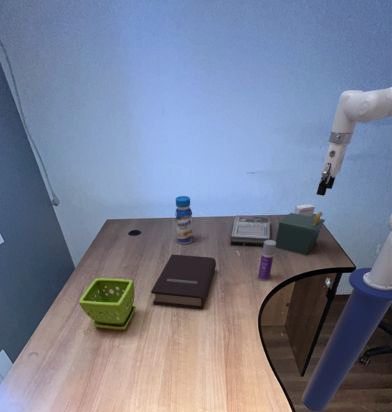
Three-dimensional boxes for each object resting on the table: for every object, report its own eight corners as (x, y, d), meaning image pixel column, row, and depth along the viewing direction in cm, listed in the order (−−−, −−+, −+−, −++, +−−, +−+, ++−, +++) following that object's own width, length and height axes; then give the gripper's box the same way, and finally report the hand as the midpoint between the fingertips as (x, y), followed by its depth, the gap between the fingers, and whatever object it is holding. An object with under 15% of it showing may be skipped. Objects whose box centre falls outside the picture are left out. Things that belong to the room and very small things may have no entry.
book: (204, 310, 97) (204, 296, 92) (153, 304, 100) (151, 291, 95) (215, 270, 115) (216, 257, 111) (172, 266, 118) (171, 254, 114)
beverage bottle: (194, 237, 139) (193, 195, 124) (192, 244, 133) (190, 201, 119) (178, 236, 140) (175, 194, 125) (175, 244, 134) (171, 201, 120)
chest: (315, 243, 130) (322, 221, 122) (306, 255, 123) (312, 231, 115) (285, 236, 137) (290, 214, 129) (274, 246, 129) (279, 224, 121)
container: (258, 280, 109) (264, 244, 98) (258, 274, 112) (263, 239, 102) (269, 280, 109) (276, 245, 98) (269, 274, 112) (276, 239, 101)
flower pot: (105, 306, 99) (95, 276, 90) (141, 309, 98) (134, 279, 88) (89, 331, 90) (76, 301, 81) (128, 335, 88) (119, 304, 79)
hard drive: (230, 245, 132) (231, 236, 129) (235, 223, 150) (235, 215, 147) (268, 247, 129) (269, 238, 126) (268, 225, 147) (269, 216, 144)
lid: (324, 221, 122) (328, 209, 118) (314, 231, 115) (318, 219, 111) (290, 214, 129) (292, 203, 125) (279, 223, 121) (281, 212, 118)
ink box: (304, 226, 145) (310, 203, 136) (309, 230, 141) (315, 206, 133) (290, 228, 143) (295, 205, 135) (294, 232, 140) (300, 208, 131)
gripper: (344, 143, 89) (327, 199, 101) (356, 135, 98) (339, 187, 111) (321, 141, 92) (307, 196, 104) (335, 133, 101) (321, 184, 114)
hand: (324, 191), depth 107 cm, fingers open, 9 cm apart
